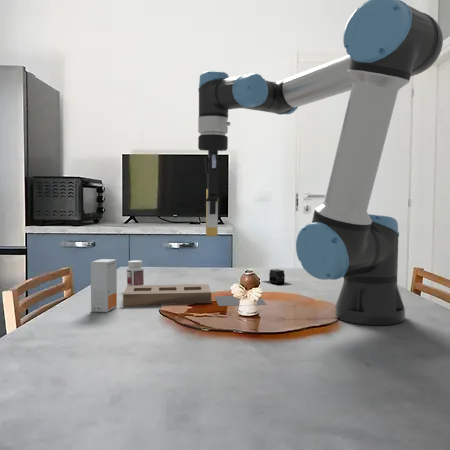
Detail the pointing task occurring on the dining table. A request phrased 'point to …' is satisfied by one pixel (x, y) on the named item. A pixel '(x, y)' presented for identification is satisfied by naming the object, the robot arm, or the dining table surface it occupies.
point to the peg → (209, 230)
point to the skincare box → (103, 285)
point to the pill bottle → (135, 273)
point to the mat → (233, 301)
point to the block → (166, 294)
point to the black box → (277, 278)
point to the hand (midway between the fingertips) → (211, 226)
